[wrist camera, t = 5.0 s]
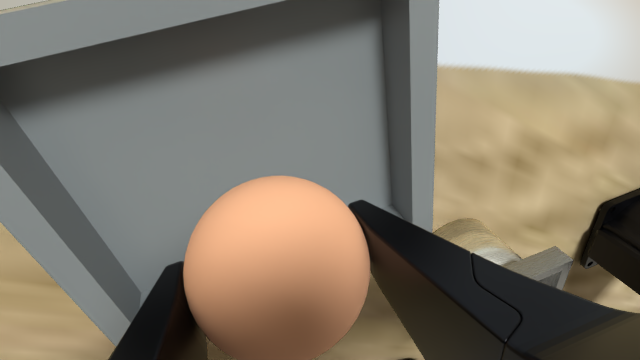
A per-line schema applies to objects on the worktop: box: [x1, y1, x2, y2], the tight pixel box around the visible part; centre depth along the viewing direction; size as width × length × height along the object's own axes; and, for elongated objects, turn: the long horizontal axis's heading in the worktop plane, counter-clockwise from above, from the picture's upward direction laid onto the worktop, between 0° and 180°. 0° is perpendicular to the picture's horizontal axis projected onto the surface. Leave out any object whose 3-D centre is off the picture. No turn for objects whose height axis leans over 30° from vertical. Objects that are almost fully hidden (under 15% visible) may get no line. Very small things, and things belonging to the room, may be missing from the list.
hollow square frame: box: [433, 219, 573, 290], centre depth 20 cm, size 6×6×5 cm
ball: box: [183, 176, 370, 360], centre depth 9 cm, size 4×4×4 cm
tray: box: [0, 0, 439, 346], centre depth 13 cm, size 14×12×2 cm
